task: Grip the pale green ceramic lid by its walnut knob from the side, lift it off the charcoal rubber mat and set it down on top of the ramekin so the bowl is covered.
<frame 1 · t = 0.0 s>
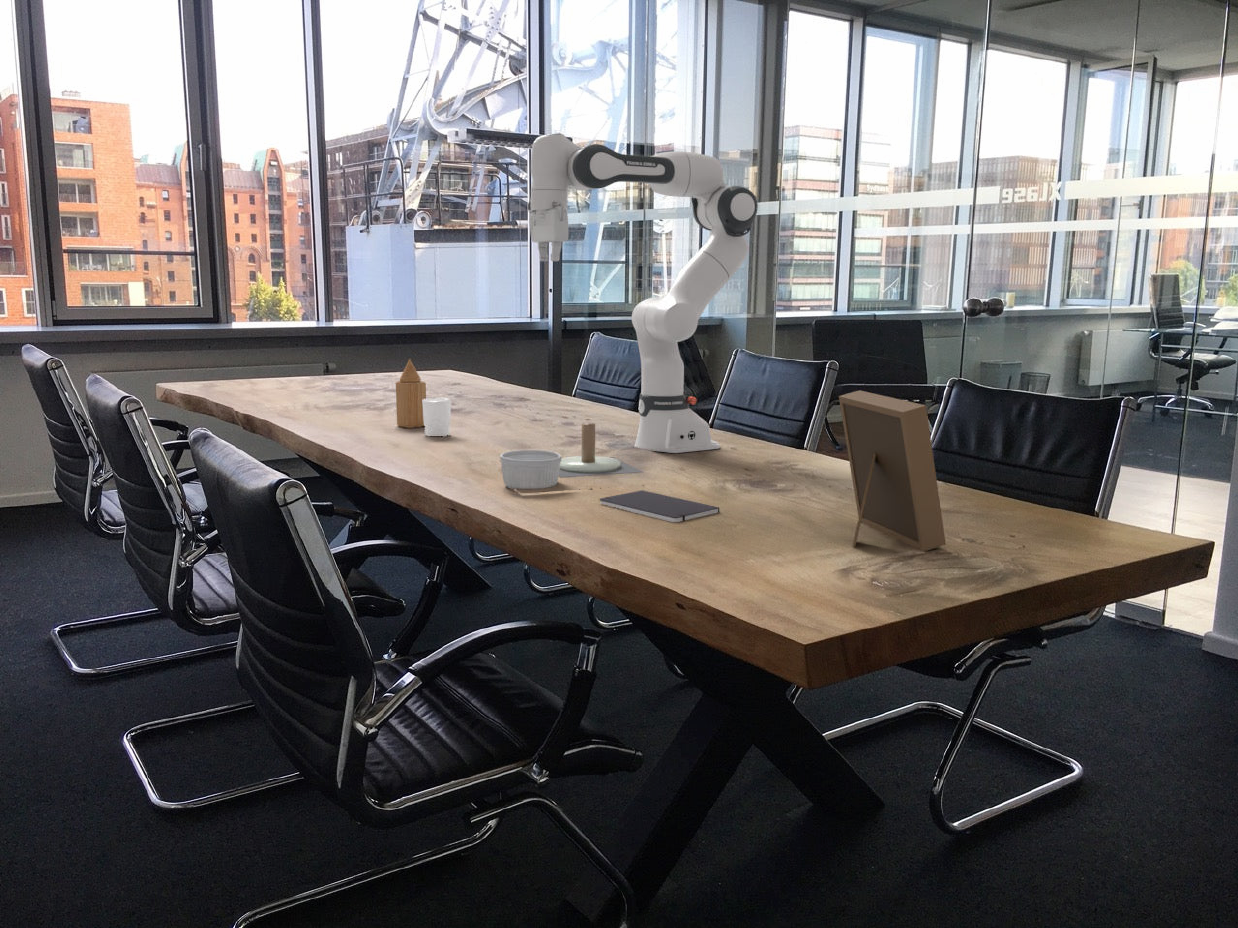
hand: (549, 261, 255), 48 cm above the table, tool pointing down, fingers open, 8 cm apart
lid: (588, 466, 245), point 1 cm above the table, touching mat
white cup: (437, 435, 292), on the table
photo frame: (873, 538, 186), on the table
mat: (588, 469, 245), on the table
decorative item: (411, 427, 307), on the table
notebook: (657, 511, 207), on the table
ramekin: (530, 487, 226), on the table
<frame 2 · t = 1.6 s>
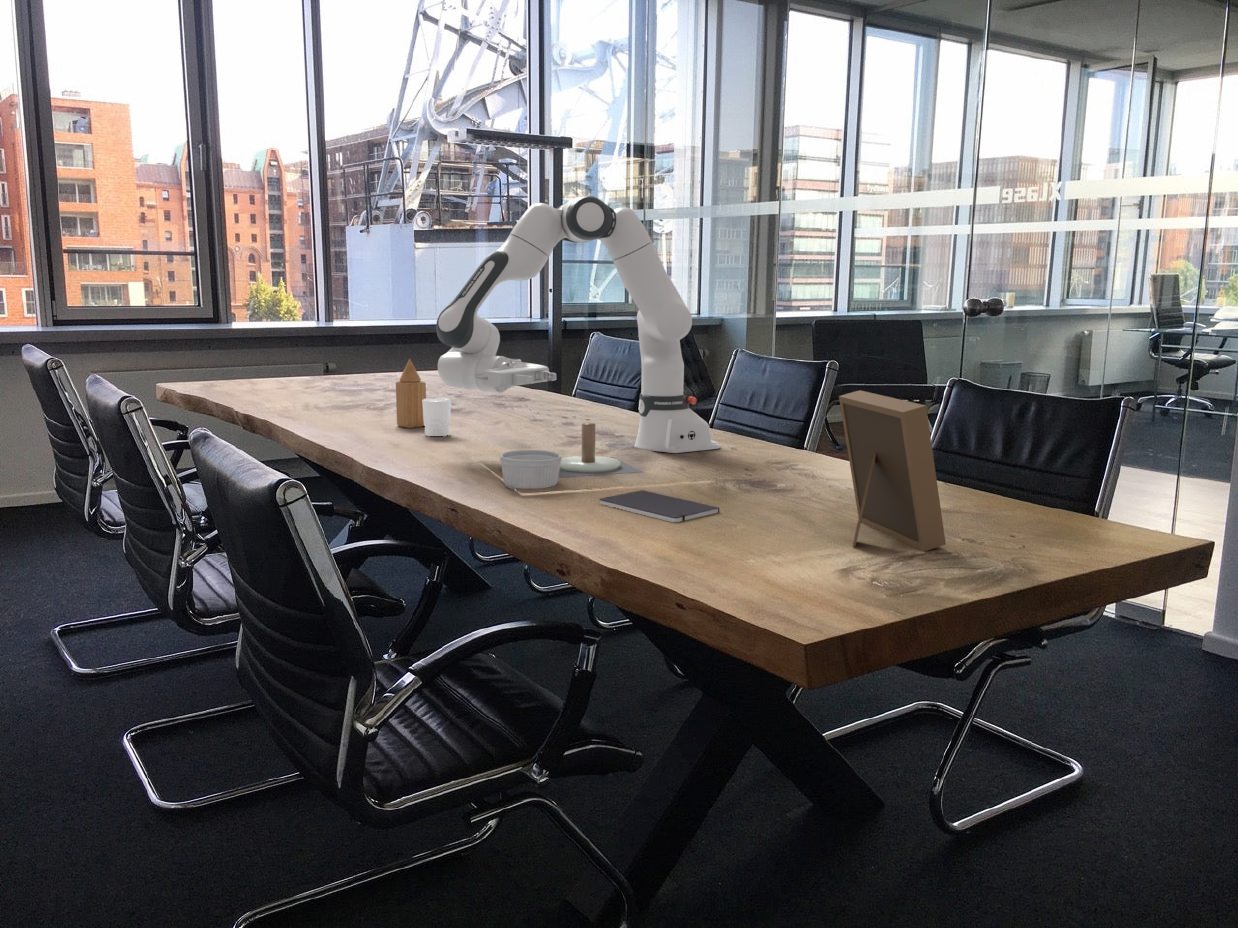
hand: (544, 378, 247), 21 cm above the table, tool horizontal, fingers open, 8 cm apart
nothing on the table moved.
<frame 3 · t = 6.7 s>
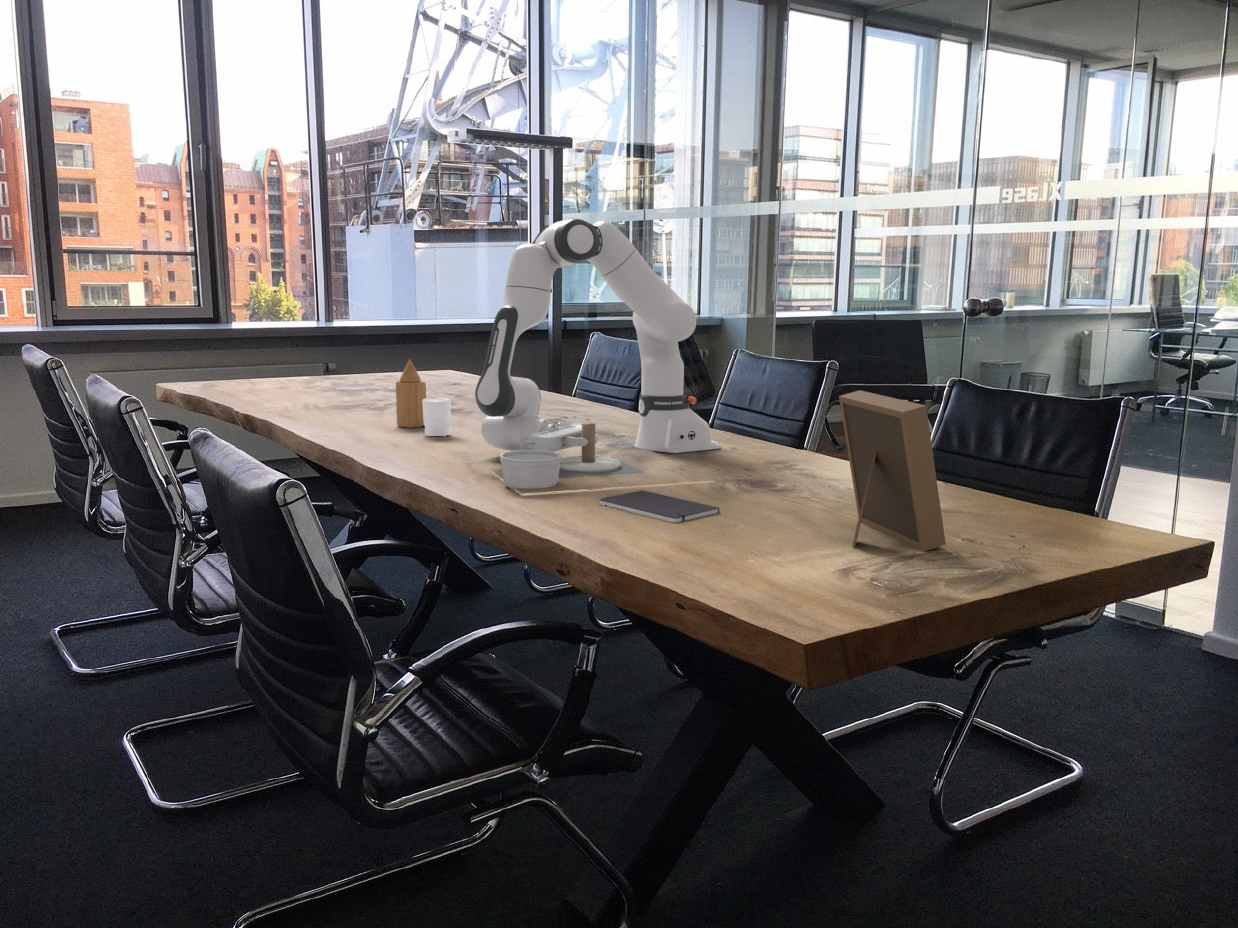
hand: (591, 440, 243), 7 cm above the table, tool horizontal, fingers closed on lid, 3 cm apart
lid: (588, 466, 245), point 1 cm above the table, touching gripper, mat
everything else where it was.
when the fingers open (15 cm above the table, at t = 10.5 s): lid drops 1 cm, resting on ramekin.
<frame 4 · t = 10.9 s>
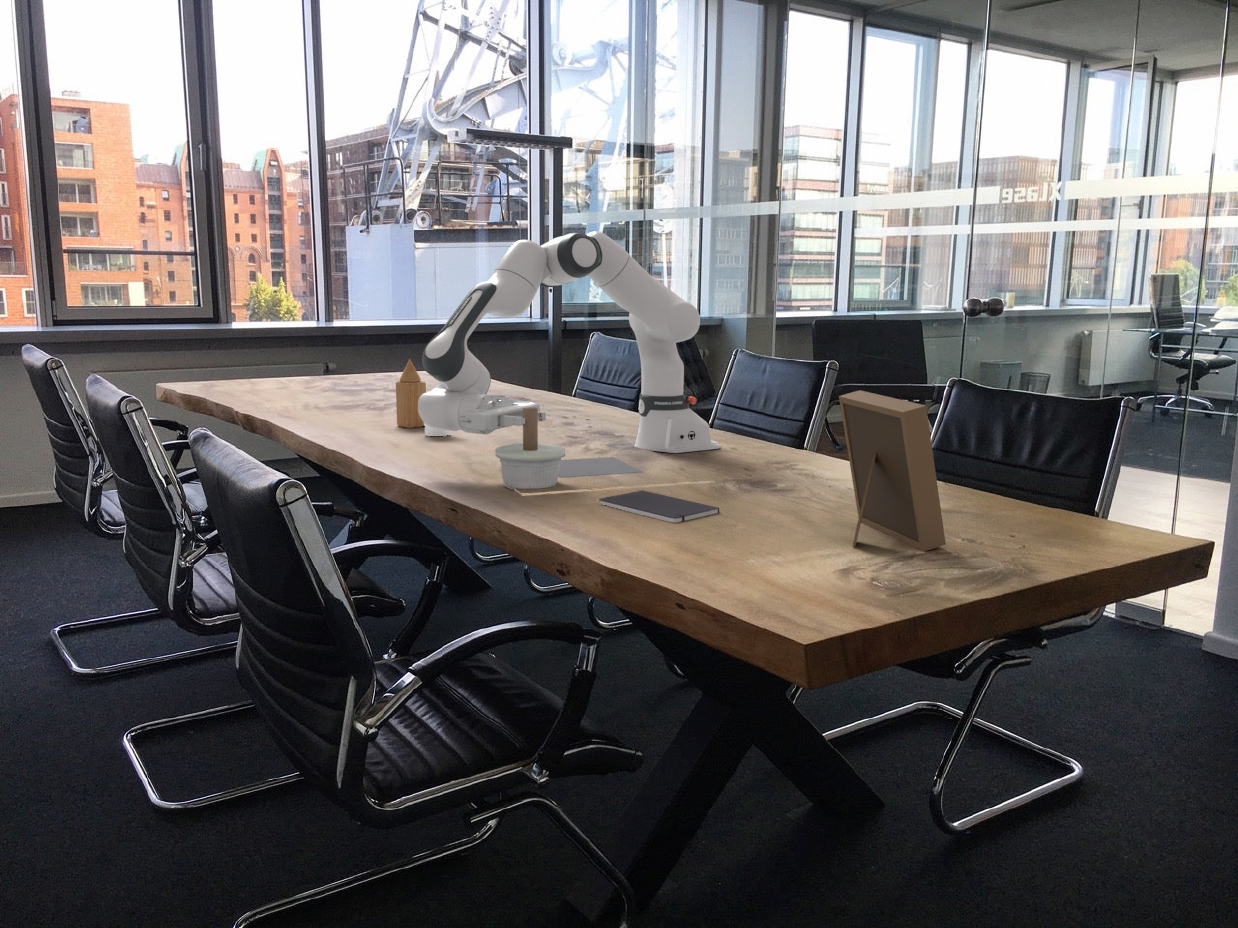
hand: (533, 419, 223), 15 cm above the table, tool horizontal, fingers open, 7 cm apart
lid: (530, 454, 225), point 7 cm above the table, touching ramekin
ramekin: (530, 487, 226), on the table, touching lid
everything else where it was.
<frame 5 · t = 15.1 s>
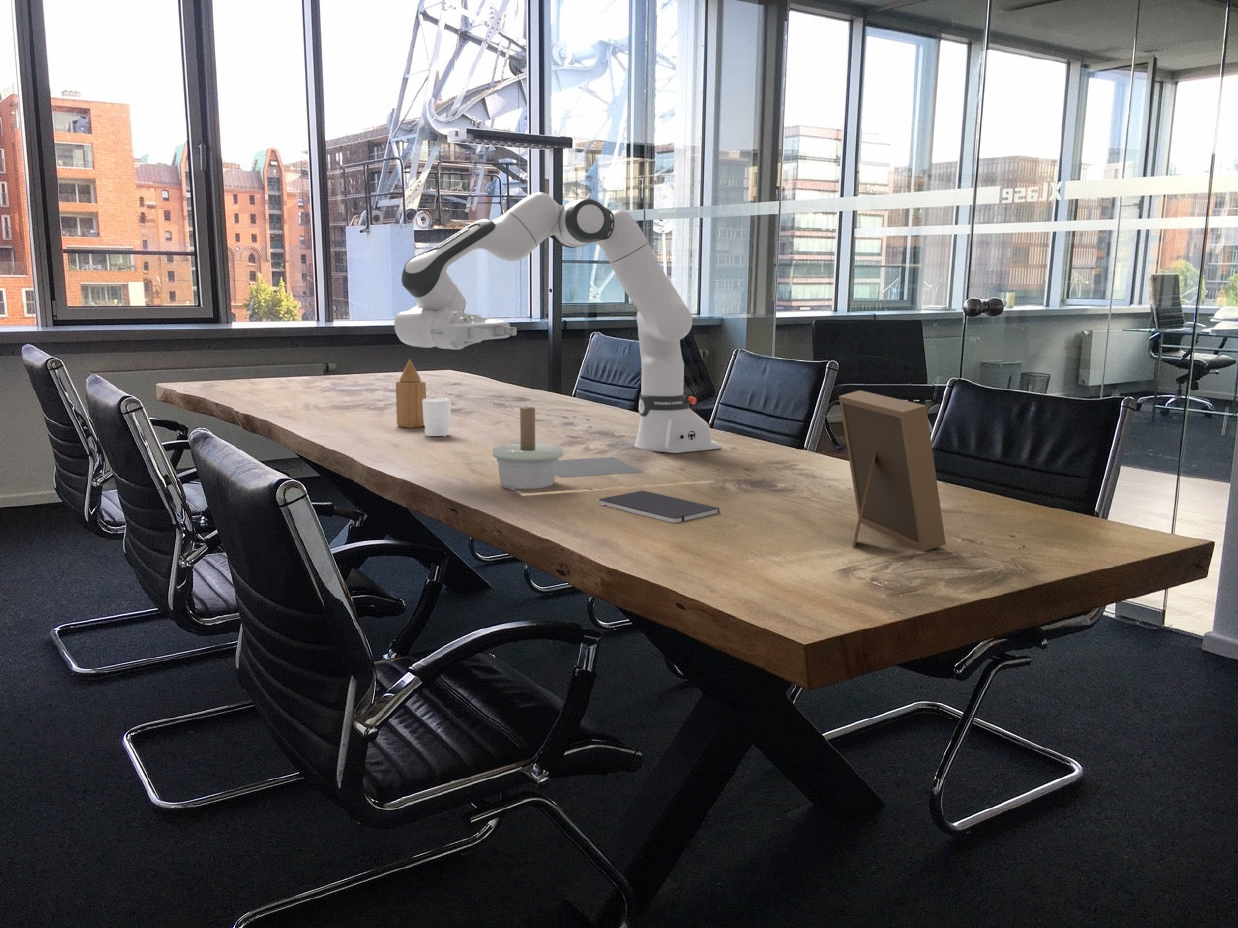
hand: (502, 332, 235), 32 cm above the table, tool horizontal, fingers open, 8 cm apart
nothing on the table moved.
at the end: lid 0.1 cm from the ramekin (horizontally); lid point 6.8 cm above the table; lid tilted 0° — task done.
